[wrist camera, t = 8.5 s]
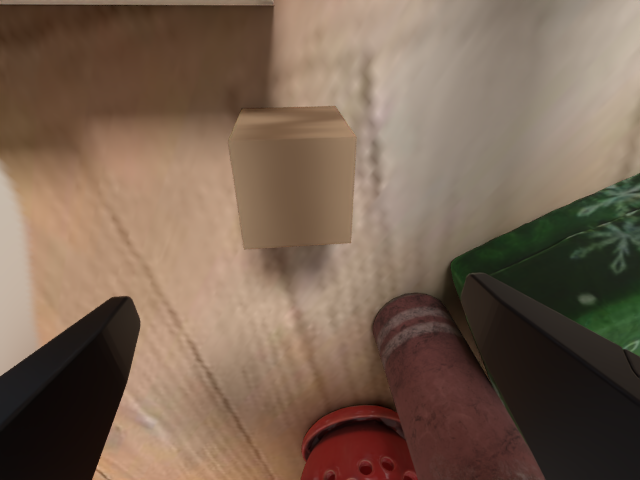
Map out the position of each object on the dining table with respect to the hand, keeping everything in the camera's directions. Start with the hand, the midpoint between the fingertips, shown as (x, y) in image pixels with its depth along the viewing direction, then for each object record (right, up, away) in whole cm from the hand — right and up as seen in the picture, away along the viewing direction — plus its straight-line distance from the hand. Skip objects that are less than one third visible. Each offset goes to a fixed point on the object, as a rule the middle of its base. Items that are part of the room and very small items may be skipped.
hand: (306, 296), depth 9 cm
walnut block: (-1, +7, +10) cm, 12 cm away
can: (+8, -5, +19) cm, 21 cm away
